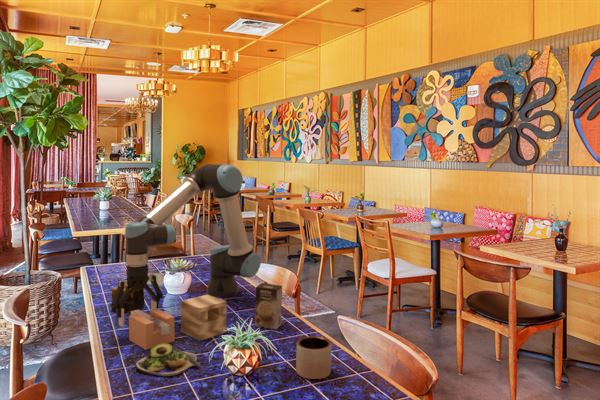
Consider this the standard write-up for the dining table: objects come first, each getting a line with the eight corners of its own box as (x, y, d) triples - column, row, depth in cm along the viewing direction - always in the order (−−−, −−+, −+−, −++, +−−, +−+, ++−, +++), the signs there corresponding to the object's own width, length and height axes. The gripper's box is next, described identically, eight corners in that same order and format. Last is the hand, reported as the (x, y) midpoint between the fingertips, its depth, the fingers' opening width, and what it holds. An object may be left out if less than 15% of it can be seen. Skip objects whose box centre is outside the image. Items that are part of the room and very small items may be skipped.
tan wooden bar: (138, 317, 175) (138, 309, 174) (169, 332, 160) (169, 324, 160) (130, 319, 173) (130, 311, 172) (161, 335, 158) (161, 326, 157)
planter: (308, 361, 151) (309, 333, 150) (337, 370, 145) (338, 341, 144) (288, 374, 142) (289, 343, 141) (318, 384, 136) (319, 353, 135)
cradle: (157, 332, 173) (157, 308, 173) (174, 341, 165) (174, 316, 164) (129, 340, 166) (128, 315, 165) (146, 350, 157) (145, 324, 157)
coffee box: (254, 326, 181) (254, 286, 179) (260, 321, 187) (261, 282, 185) (276, 330, 178) (276, 289, 176) (282, 324, 184) (282, 285, 182)
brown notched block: (207, 324, 183) (207, 294, 182) (226, 332, 175) (226, 301, 174) (181, 331, 174) (181, 300, 173) (199, 340, 166) (199, 308, 165)
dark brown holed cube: (132, 314, 193) (132, 291, 192) (110, 312, 195) (110, 289, 194) (145, 306, 203) (145, 284, 202) (124, 305, 205) (124, 282, 204)
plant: (185, 281, 247) (185, 264, 246) (150, 288, 232) (150, 271, 231) (160, 272, 264) (160, 257, 263) (126, 279, 248) (125, 262, 248)
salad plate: (213, 359, 152) (213, 346, 151) (179, 384, 135) (179, 368, 135) (165, 349, 159) (165, 336, 158) (127, 371, 142) (127, 357, 142)
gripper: (109, 271, 158) (110, 332, 160) (172, 261, 176) (172, 316, 178) (99, 268, 164) (101, 327, 166) (161, 258, 181) (162, 311, 183)
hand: (138, 321), depth 172 cm, fingers open, 12 cm apart
